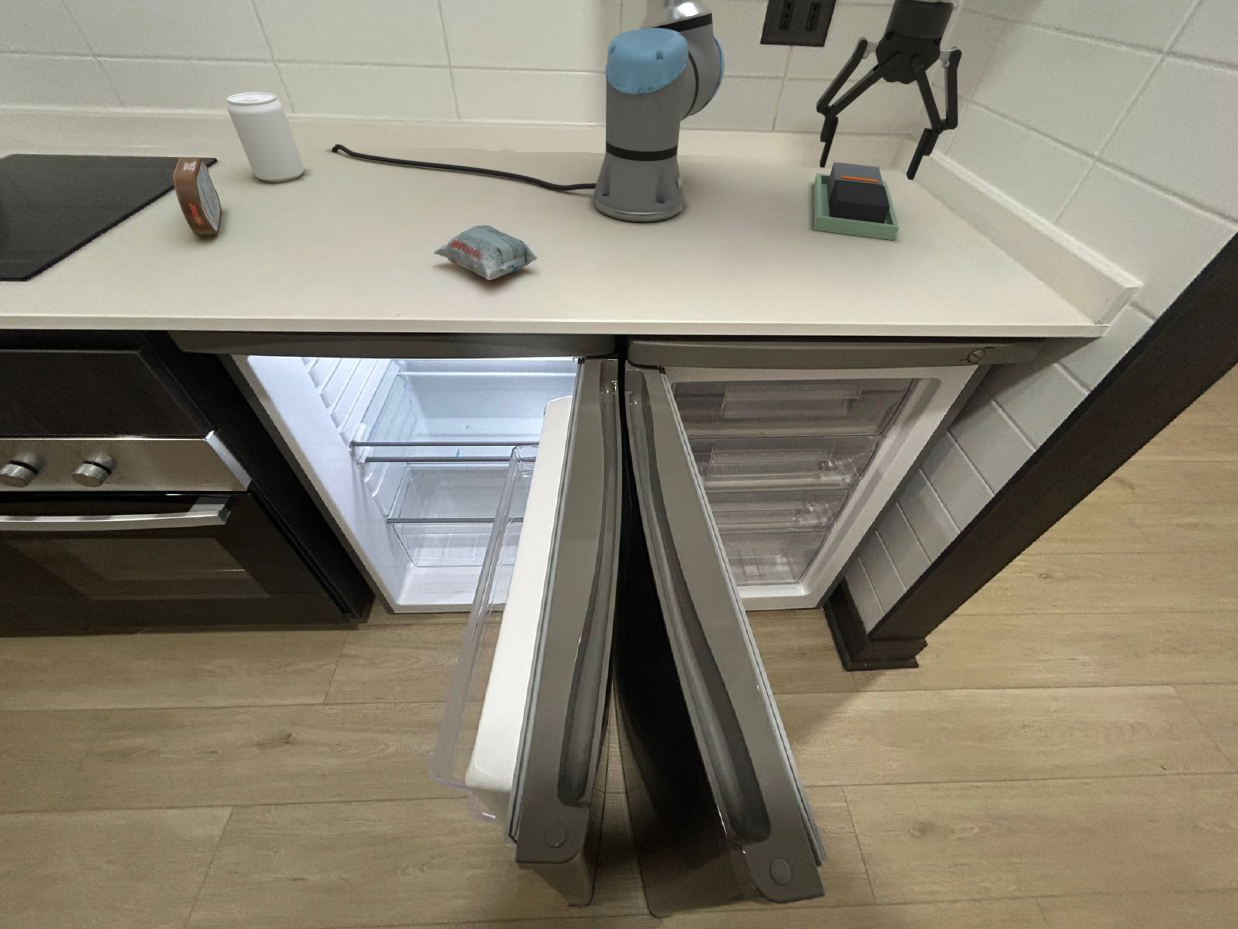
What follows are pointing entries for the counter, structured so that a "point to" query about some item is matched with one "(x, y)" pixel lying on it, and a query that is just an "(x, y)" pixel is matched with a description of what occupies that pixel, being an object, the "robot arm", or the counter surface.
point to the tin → (197, 196)
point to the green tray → (847, 225)
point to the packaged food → (487, 252)
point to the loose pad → (859, 202)
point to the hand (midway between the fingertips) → (865, 171)
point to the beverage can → (265, 136)
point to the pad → (853, 175)
